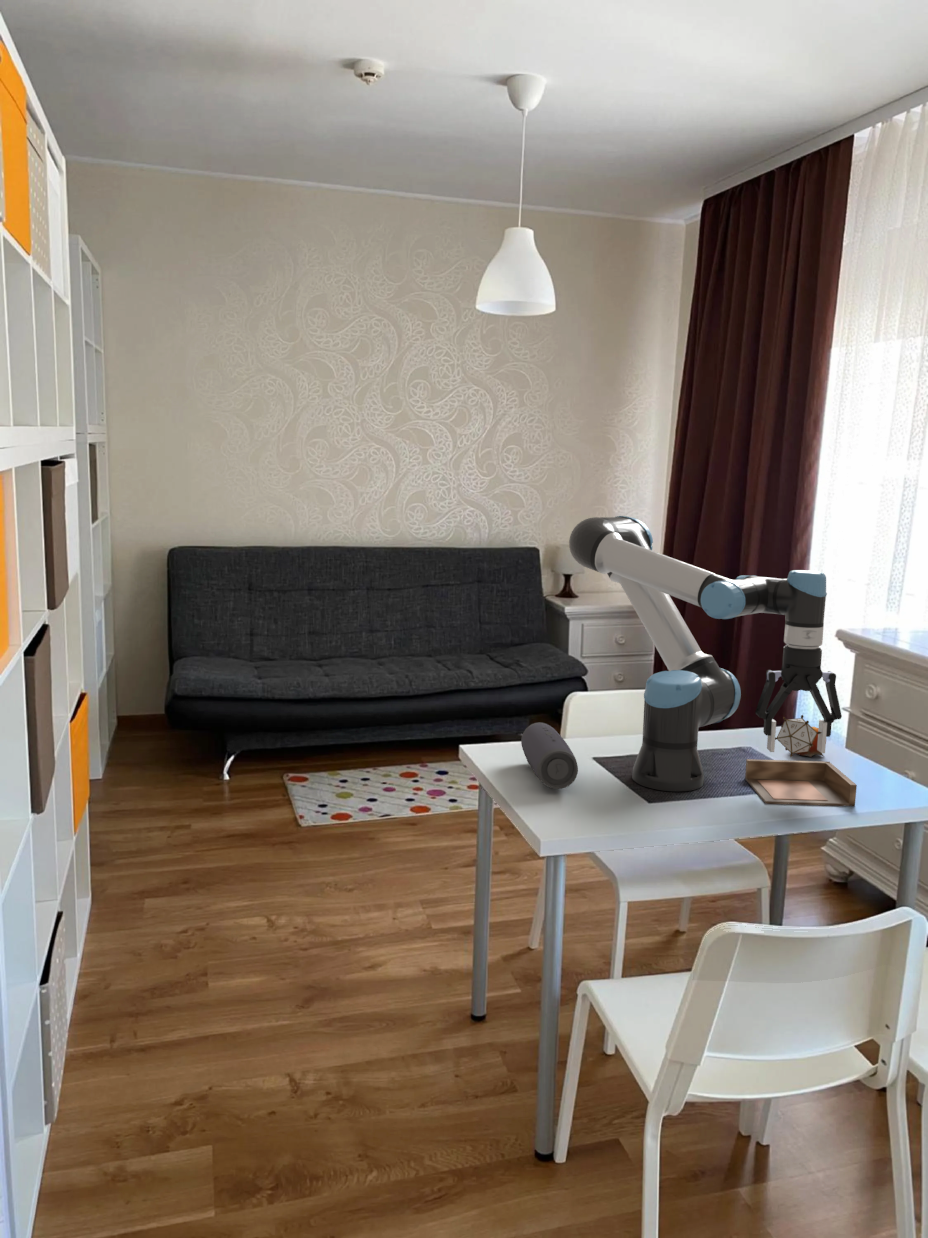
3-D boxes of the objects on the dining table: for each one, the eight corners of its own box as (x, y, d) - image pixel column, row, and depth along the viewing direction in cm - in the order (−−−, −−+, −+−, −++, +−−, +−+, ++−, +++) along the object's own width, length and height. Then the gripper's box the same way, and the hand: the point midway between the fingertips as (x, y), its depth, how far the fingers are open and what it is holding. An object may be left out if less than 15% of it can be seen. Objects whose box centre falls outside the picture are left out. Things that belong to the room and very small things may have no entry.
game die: (786, 772, 203) (758, 733, 202) (799, 749, 209) (772, 712, 208) (822, 760, 196) (793, 720, 196) (835, 737, 202) (807, 699, 202)
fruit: (815, 757, 226) (803, 724, 229) (791, 766, 233) (781, 733, 235) (839, 753, 230) (828, 721, 232) (816, 762, 236) (805, 730, 239)
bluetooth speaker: (580, 795, 200) (582, 748, 198) (535, 795, 199) (537, 748, 197) (558, 762, 222) (560, 719, 221) (518, 762, 221) (519, 720, 220)
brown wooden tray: (765, 803, 197) (767, 782, 196) (745, 779, 213) (746, 759, 212) (854, 806, 197) (856, 785, 196) (827, 781, 213) (829, 761, 212)
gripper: (753, 647, 196) (746, 754, 199) (864, 650, 196) (856, 757, 199) (743, 641, 204) (737, 744, 207) (850, 643, 203) (843, 747, 206)
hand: (795, 751), depth 203 cm, fingers closed on game die, 10 cm apart
